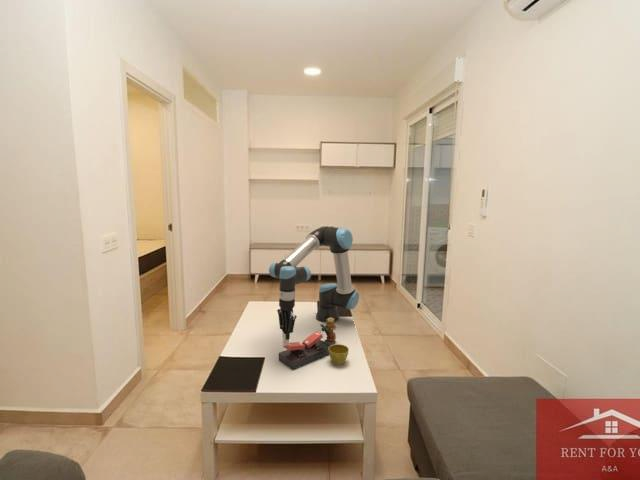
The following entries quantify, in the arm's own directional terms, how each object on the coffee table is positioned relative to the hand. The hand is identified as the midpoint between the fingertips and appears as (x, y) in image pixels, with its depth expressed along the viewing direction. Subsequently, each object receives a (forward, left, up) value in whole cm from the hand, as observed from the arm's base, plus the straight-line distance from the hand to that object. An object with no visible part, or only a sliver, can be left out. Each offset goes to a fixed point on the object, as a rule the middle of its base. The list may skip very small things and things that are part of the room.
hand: (285, 344), depth 168 cm
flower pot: (-20, +16, -9) cm, 28 cm away
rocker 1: (-5, 0, -2) cm, 6 cm away
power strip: (-11, +2, -9) cm, 15 cm away
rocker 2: (-17, 0, -2) cm, 17 cm away
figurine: (-31, -3, -9) cm, 33 cm away
